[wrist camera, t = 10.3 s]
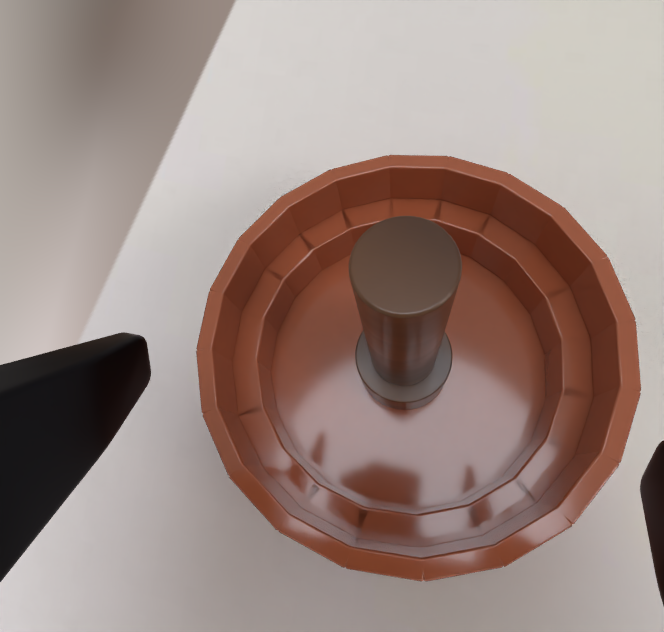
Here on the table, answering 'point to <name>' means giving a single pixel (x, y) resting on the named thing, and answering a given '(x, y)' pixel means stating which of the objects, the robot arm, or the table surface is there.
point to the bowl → (457, 393)
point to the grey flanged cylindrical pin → (404, 309)
